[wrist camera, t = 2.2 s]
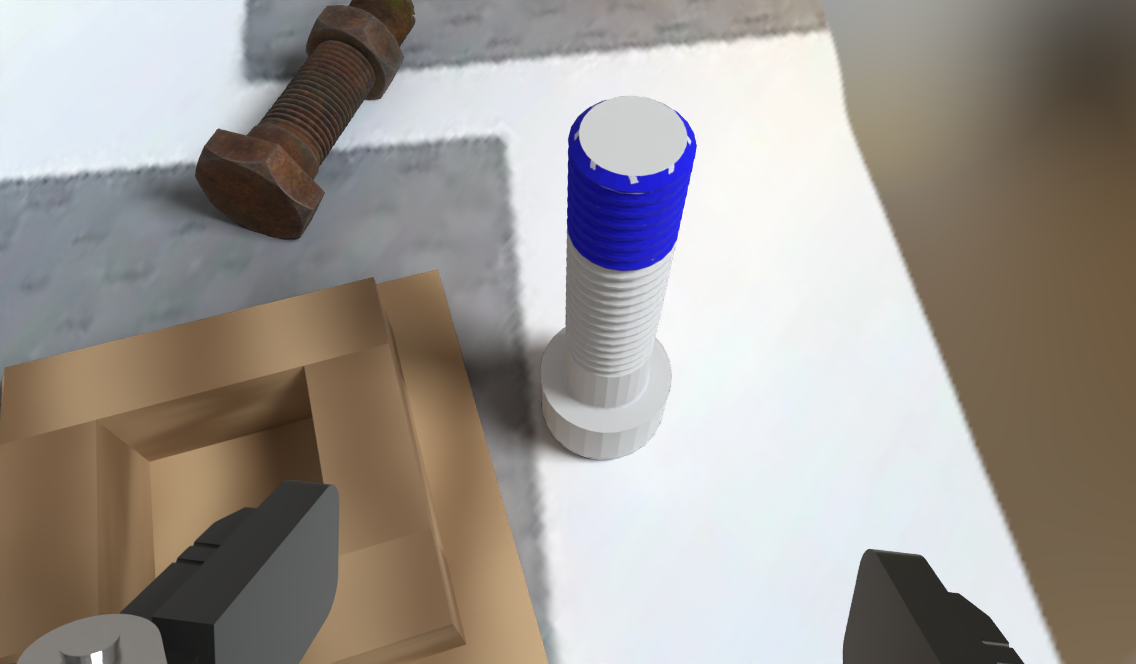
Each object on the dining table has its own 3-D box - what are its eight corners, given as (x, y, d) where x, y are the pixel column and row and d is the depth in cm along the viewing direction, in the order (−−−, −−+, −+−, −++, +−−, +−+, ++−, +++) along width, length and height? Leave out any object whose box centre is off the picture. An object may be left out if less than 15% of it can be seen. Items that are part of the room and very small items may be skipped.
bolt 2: (687, 411, 32) (598, 488, 30) (605, 332, 34) (516, 401, 32) (780, 142, 19) (629, 254, 17) (635, 35, 20) (486, 126, 19)
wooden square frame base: (-4, 893, 24) (-129, 919, 19) (17, 387, 32) (-67, 327, 28) (557, 699, 27) (557, 683, 22) (440, 281, 35) (424, 212, 31)
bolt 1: (414, 62, 45) (289, 258, 38) (336, 9, 44) (189, 201, 36) (451, -6, 41) (316, 201, 33) (364, -68, 39) (202, 134, 31)
